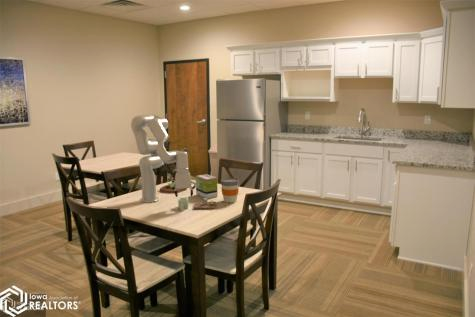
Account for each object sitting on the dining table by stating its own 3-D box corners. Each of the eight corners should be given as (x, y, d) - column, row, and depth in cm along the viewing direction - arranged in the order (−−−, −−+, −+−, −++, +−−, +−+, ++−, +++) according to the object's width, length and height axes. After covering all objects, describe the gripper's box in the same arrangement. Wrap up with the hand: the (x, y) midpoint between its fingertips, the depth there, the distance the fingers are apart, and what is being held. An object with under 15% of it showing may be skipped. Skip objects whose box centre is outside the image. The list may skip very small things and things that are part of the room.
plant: (155, 192, 290) (155, 178, 288) (167, 186, 308) (167, 173, 307) (179, 194, 284) (178, 179, 282) (190, 188, 302) (189, 174, 301)
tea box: (195, 194, 281) (195, 175, 279) (207, 192, 287) (206, 173, 285) (206, 199, 269) (205, 178, 267) (218, 196, 275) (217, 177, 273)
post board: (195, 203, 258) (195, 196, 257) (215, 203, 259) (215, 195, 258) (193, 209, 244) (193, 201, 243) (215, 209, 245) (215, 201, 244)
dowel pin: (210, 205, 250) (210, 200, 249) (213, 205, 250) (213, 200, 249) (210, 206, 248) (210, 201, 247) (213, 206, 248) (213, 201, 247)
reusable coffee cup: (237, 203, 257) (236, 182, 254) (219, 203, 259) (218, 181, 257) (240, 199, 269) (240, 178, 266) (223, 198, 271) (223, 177, 269)
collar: (179, 206, 252) (179, 197, 251) (188, 206, 252) (188, 197, 251) (177, 211, 242) (177, 202, 241) (187, 210, 242) (186, 201, 241)
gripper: (168, 172, 241) (170, 198, 243) (195, 171, 241) (197, 197, 244) (170, 170, 248) (171, 195, 251) (196, 169, 249) (197, 194, 251)
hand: (184, 196), depth 247 cm, fingers open, 9 cm apart
